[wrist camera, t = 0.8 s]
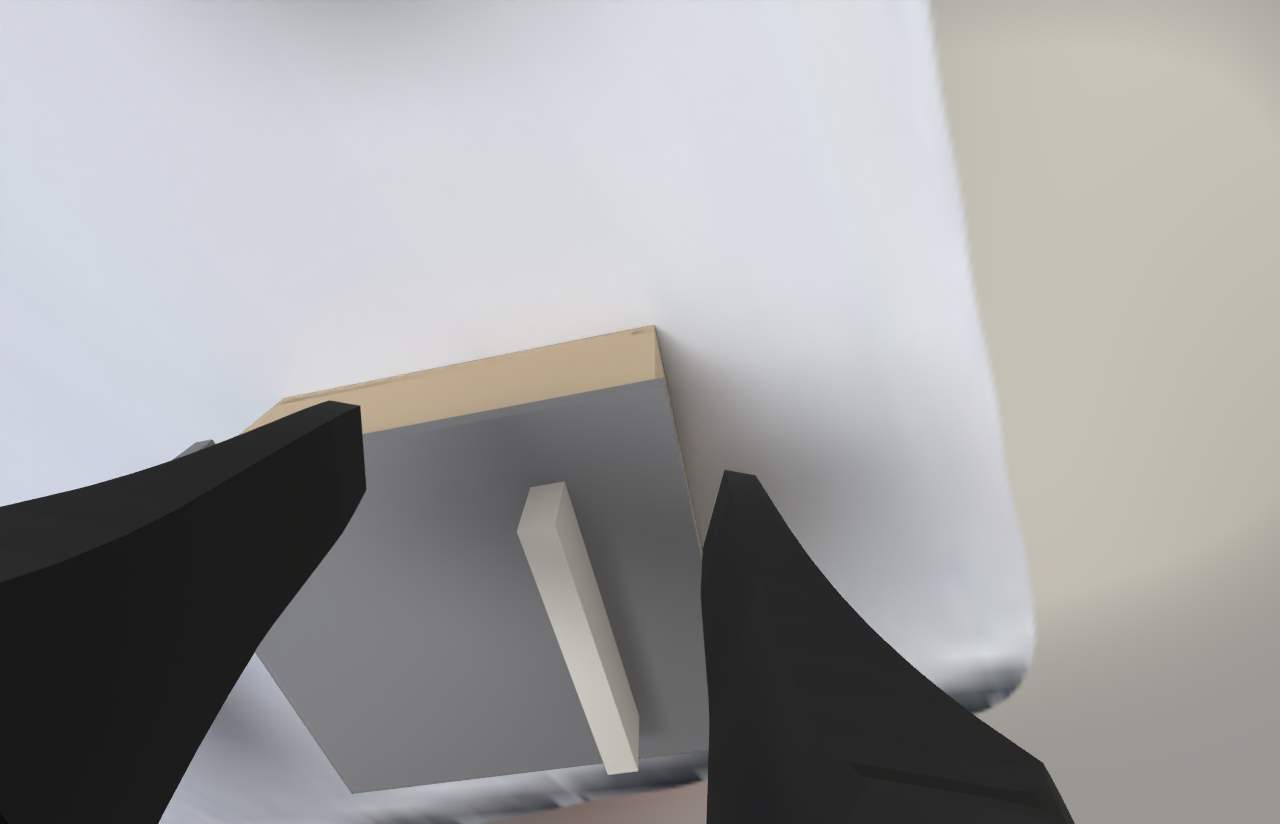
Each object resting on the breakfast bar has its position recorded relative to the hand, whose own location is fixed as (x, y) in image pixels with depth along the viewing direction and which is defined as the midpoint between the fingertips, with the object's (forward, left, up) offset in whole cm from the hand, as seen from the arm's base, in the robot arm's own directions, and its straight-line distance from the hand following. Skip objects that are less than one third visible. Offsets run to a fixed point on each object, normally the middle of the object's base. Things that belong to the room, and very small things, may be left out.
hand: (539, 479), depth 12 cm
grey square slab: (-5, -8, -7) cm, 11 cm away
